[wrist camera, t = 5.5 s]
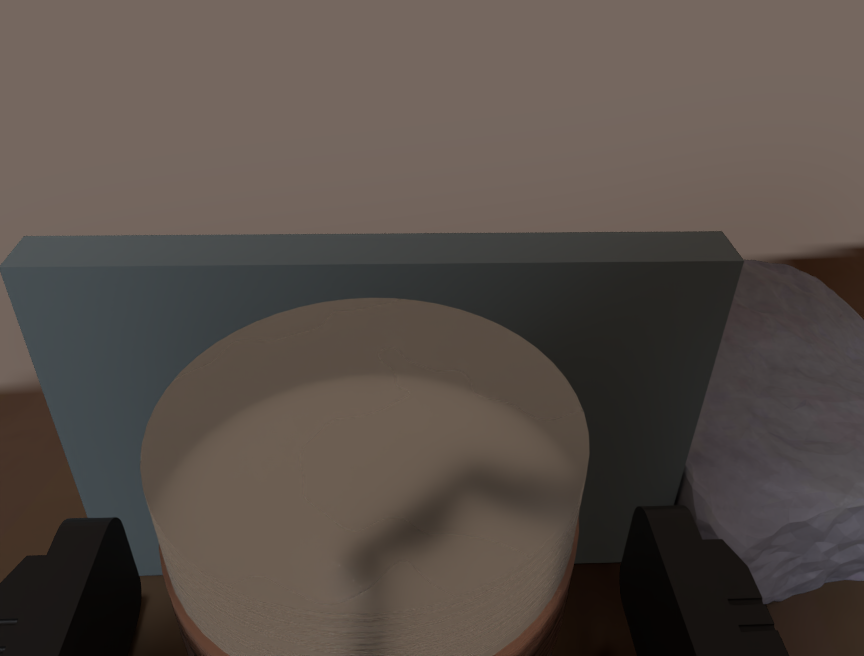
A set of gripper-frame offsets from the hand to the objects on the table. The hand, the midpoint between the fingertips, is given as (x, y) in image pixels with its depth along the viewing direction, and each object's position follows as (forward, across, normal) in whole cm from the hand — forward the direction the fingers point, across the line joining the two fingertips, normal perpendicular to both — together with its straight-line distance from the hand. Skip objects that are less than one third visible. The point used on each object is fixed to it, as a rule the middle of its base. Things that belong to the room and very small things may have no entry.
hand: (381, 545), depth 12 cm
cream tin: (-2, 0, +6) cm, 7 cm away
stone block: (+9, -12, +7) cm, 16 cm away
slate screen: (+5, 0, +6) cm, 8 cm away
